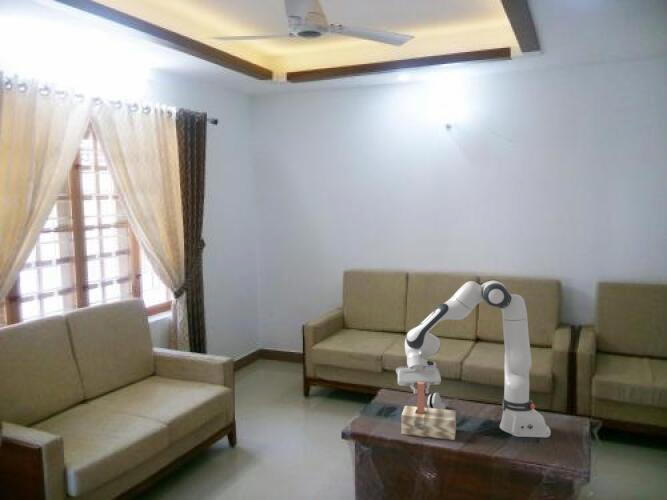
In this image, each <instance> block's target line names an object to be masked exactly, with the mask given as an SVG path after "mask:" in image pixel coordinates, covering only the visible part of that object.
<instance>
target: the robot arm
mask: <svg viewBox="0 0 667 500" xmlns="http://www.w3.org/2000/svg"><path fill="white" fill-rule="evenodd" d="M482 302H485V303H486V304H487V305H489V306H491V307H494V308H498V309H500V310H501V316H502V318H501V319H502V331H503V334H502V335H503V340H504V341H503V342H504V343H503V344H504V385H503V386H504V387H503V388H504V389H503V390H504V394H503V395H504V396H503V398H502V416H501V421H500V424H499V428H500V430H502V431H503V432H505V433H508V434H510V435H512V436H514V437H519V438H526V437H527V438H550V436H551V435H552V434H551V433H552V432H551V427H549V426H548V424H546V420H545V418H544V416H543V414H541V413H540V412H538V411H537V410H536V409H535V408H536V405H535V404H534V402H533V400H530V370H531V369H532V368H531V367H532V354H531V353H532V352H531V345H530V337H529V336H530V335H529V325H528V324H529V323H528V322H529V321H528V312H527V307H526V303H525V299H524V298H523V296H521V295H520V294H516V293H509V291H508V289H507V288H506V286H505V284H504V283H502V282H501V281H499V280H497V279H489V280H486V281H483V282H481V283H477V282H476V281H473V280H470V281H467V282H465V283H464V284H463V285H462V286H461V287H460V288H458V289H457V291H456V292H455V293H454V294H453V295H452V296H451V297H450V298H449V299H448V300H447V301H445V302H443V303H440V304H438V305H437V306H436V307H434V309H432V310H431V311H430V312H429V313H428V314H427V315H426V316H425V317H424V318H423V319H422V320H421V321H420V322H418V323H417V324H416V325H414V326H413V327H412V328H410V329H409V330H408V331H407V333H406V336H405V339H404V352H405V356H406V363H407V365H406V366H405V365H403V366H398V367H397V368H395V374H396V376H397V385H398V386H400V387H402V386H409V387H410V388H411V390H412V391H413V394H414V395H417V388H415V386H417V383H418V382H425V387H426V388H425V394H429V388H430V385H432V386H433V385H434V386H435V385H440V384H441V381H442V376H441V374H440V370H439V369H438V368H437V363H436V361H433V360H428V359H426V358H427V357H430V356H433V355H436V354H437V353H439V351H440V349H441V339H439V337H438V336H436V335H434V334H432V333H430V331H431V330H432V329H433V328H434V327H435V326H437V325H438V323H440V322H442V321H447V320H452V321H453V320H455V321H457V320H458V321H460V320H463V319H465V318H466V317H468V316H469V315H470V314H471V312H472V311H473V310H474V309H475V308H476V306H477V305H478V304H480V303H482Z"/></svg>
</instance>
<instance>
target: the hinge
mask: <svg viewBox="0 0 667 500" xmlns="http://www.w3.org/2000/svg"><path fill="white" fill-rule="evenodd" d="M441 398H442V397H441V396H440V393H439V392H434V393H431V394H428V397H427V401H426V402H427V404H426V405H427V408H434V409H445V410H446V404H445V402H443V401H442V399H441Z"/></svg>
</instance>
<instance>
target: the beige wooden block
mask: <svg viewBox="0 0 667 500" xmlns="http://www.w3.org/2000/svg"><path fill="white" fill-rule="evenodd" d="M400 416H401V417H400V419H401V420H400V422H401V425H400V429H401V430H400V435H405V436H406V435H408V436H416V437H425V438H433V439H444V440H452V441H455V440H456V439H455V438H456V431H457V410H456V409H455V410H454V409H453V410H452V409H446V408H445V409H434V408H428V407H425V411H424V414H422V413H417V406H412V405H404V407H403V410H402V411H401V415H400Z"/></svg>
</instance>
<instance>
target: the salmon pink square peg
mask: <svg viewBox="0 0 667 500" xmlns="http://www.w3.org/2000/svg"><path fill="white" fill-rule="evenodd" d="M416 386H417V388H416V389H417V394H416V395H417V398H416V401H417V402H416V403H417V405H416V407H417V413H422V414H424V411H425V408H426V407H425V402H426V401H425V398H426V397H425V394H426V393H425V387H426V385H425V382H418V383H417V385H416Z"/></svg>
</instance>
